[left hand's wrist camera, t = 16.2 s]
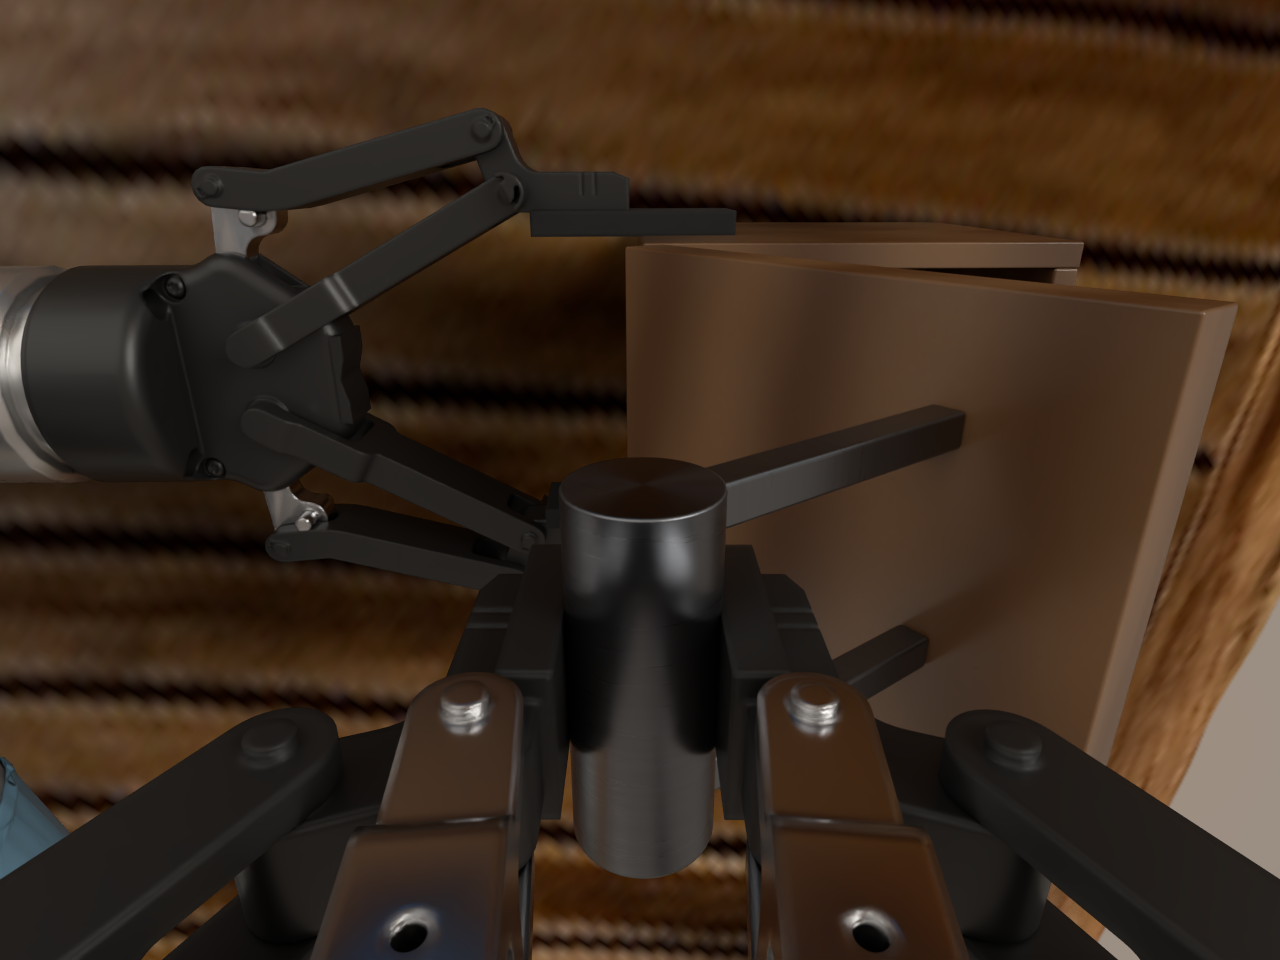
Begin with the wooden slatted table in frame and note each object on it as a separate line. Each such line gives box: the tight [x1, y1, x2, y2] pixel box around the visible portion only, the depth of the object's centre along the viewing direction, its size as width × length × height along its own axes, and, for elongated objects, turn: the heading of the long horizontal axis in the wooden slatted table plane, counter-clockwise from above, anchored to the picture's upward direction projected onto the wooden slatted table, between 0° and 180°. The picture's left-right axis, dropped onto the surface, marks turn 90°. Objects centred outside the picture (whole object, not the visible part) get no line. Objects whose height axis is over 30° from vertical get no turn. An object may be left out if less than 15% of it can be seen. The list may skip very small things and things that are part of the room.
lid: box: [559, 244, 1238, 879], centre depth 15 cm, size 13×10×9 cm
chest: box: [638, 222, 1084, 286], centre depth 28 cm, size 12×10×11 cm
